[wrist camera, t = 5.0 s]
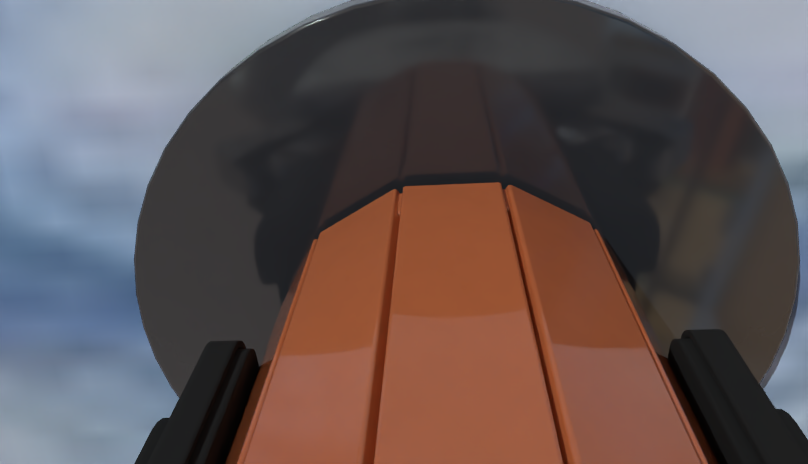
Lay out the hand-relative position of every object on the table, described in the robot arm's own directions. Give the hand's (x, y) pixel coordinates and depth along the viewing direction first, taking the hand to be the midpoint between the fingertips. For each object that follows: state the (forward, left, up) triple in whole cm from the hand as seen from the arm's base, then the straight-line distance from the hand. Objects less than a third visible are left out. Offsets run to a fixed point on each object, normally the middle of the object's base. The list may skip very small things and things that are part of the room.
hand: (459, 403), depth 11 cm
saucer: (0, 0, -3) cm, 3 cm away
